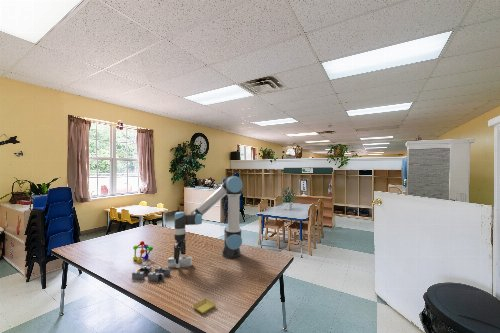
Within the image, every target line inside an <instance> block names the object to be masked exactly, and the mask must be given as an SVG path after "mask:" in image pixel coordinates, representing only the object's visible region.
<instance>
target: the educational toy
mask: <svg viewBox="0 0 500 333" xmlns="http://www.w3.org/2000/svg"><path fill="white" fill-rule="evenodd" d="M132 249H133V251H134V256H133V258H132V260H133V261H134V260H135V261H136V262H137V264H141V263H142V261H143V260H148V259H149V255H150V252H152V251H153V250H154V248H153V246H149V244H145V242H144V241H143V240H142V241H140V242H139V244H137V245H134V246H133V247H132ZM137 249H140V250H139V253H140V256H139V257H138V256H137ZM143 254H145V255H144V256H143Z"/></svg>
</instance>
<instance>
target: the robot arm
mask: <svg viewBox="0 0 500 333" xmlns="http://www.w3.org/2000/svg"><path fill="white" fill-rule="evenodd" d="M242 188H243V181H242V179H241V178H240V177H239V176H235V175H231V176H229V177H227V178H226V179H225V180H224V181H223V182H222V184H220V187H219V188H218V189H216V190H215V191H214V192H213V193H212V194H211V195H209V197H208V198H206V199H205V200H203V202H201V204H200V205H199V206H197V207H196V208H195V209H193V211H191V212H190V214H186V212H185V211H176V212H175V213H174V219H173V221H174V228H173V229H174V240H175V244H174V245H173V248H174V249H173V250H174V251H173V257H174V259H176V267H175V268H176V269H180V268H181V267H180V258H179V257H185V255H186V253H187V252H186V251H187V250H186V248H187V246H186V244H187V243H186V241H187V240H186V226H198V225H201V224H202V223H203V216H204V215H205V214H206V213H207V212H208V211H209V210H210V209H212V208H213V207H214V206H215V205H216V204H217V203H219V201H220V200H221V199H223V198H224V197H226V196H228V197H227V203H228V204H227V208H228V209H227V226H225V227H224V230H223V234H224V236H223V237H224V240H223V242H224V244H223V245H224V246H223V248H222V252H221V255H222V257H223V258H224V259H237V258H240V256H241V255H242V252H241V249H240V247H241V246H242V244H243V238H242V229H241V228H240V196H241V195H242V192H243V190H242Z"/></svg>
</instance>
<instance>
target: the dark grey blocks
mask: <svg viewBox="0 0 500 333" xmlns="http://www.w3.org/2000/svg"><path fill="white" fill-rule="evenodd" d="M152 269H153V268H152V266H147V265H143V266H140V267H139V268H137V269H136V270H133V272H131V280H134V281H135V280H137V281H143V280H145V277H146V276H145V275H147V281H149V282H159V281H161V282H164V281H165V277H168V276H169V277H170V276H171V268H168V267H163V266H158V267H156V268H154V271H152Z"/></svg>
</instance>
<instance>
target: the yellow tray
mask: <svg viewBox="0 0 500 333" xmlns="http://www.w3.org/2000/svg"><path fill="white" fill-rule="evenodd" d="M216 306H217V303H216V302H214V301H212V300H211V299H210V298H209V299H208V298H207V297H205V298H202V299H201V300H200V301H197V302H195V303H194V304H192V307H193V309H195V310H197V311H198V312H199V313H201V314H202V315H204V314H205V313H207V312H209V311H211V310H212V309H214V307H216Z"/></svg>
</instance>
